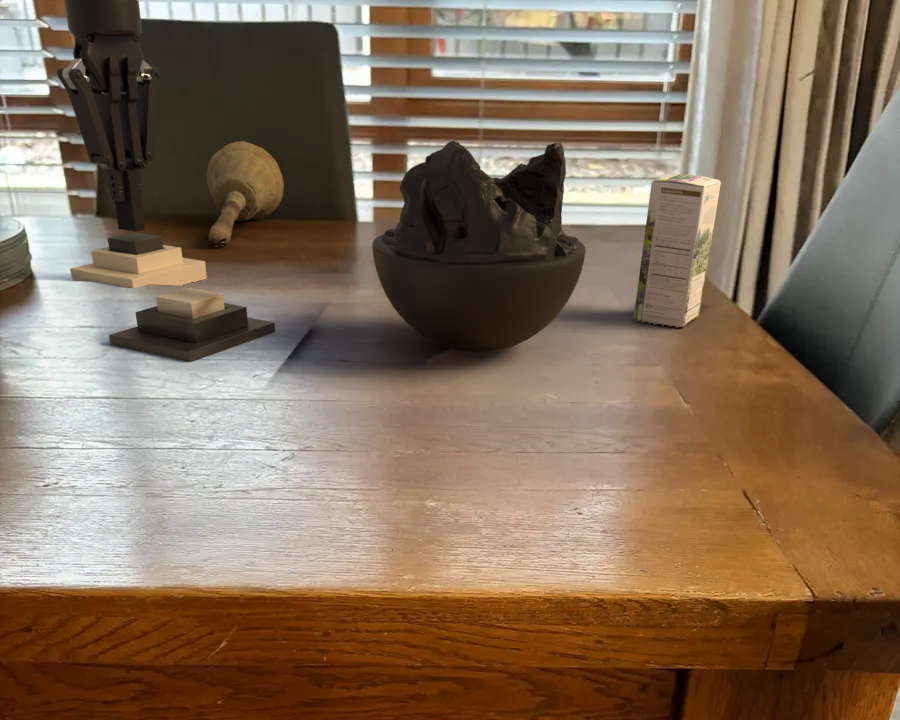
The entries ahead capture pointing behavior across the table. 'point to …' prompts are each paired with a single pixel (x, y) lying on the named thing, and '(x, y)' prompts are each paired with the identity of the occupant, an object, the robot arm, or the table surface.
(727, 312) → the table surface
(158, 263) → the stepped ziggurat stack
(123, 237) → the key far
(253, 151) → the handbell
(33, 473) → the table surface
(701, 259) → the syrup box
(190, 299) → the key near
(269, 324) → the tiered square pedestal
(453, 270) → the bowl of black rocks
